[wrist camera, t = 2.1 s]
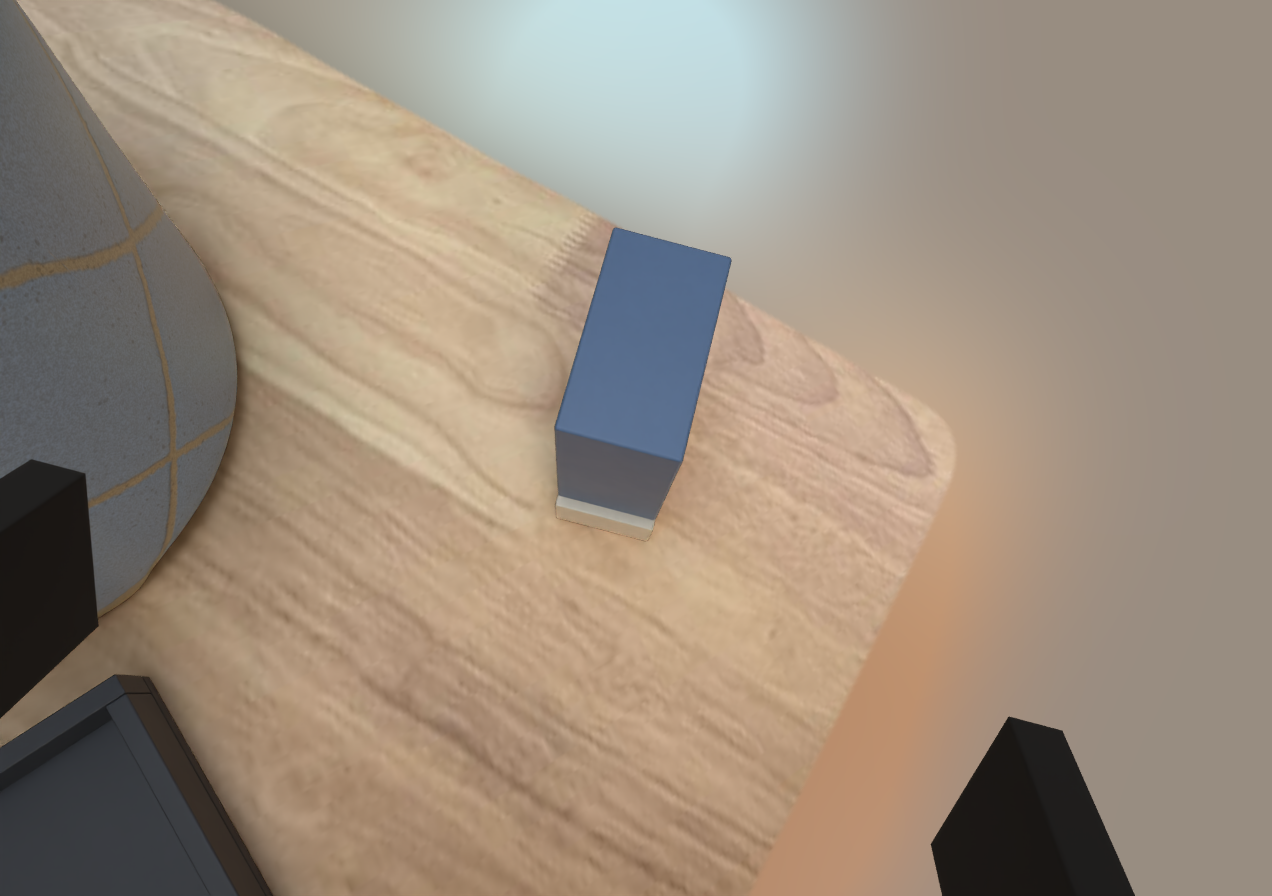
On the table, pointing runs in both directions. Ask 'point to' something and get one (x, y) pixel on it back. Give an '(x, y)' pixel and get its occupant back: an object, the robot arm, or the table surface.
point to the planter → (101, 322)
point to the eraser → (636, 382)
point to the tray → (115, 806)
